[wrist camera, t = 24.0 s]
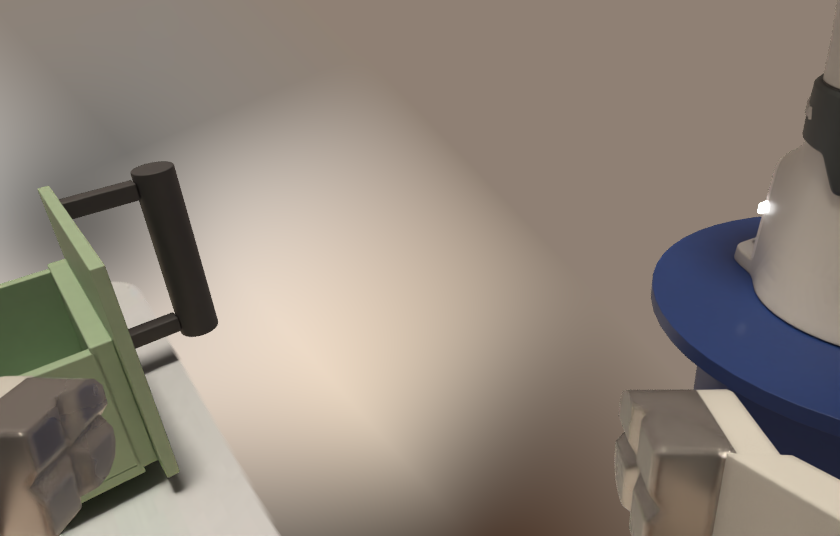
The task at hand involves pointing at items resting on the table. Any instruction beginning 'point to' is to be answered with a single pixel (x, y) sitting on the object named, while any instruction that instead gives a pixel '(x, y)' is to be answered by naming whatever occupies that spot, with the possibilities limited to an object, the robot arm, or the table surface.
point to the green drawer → (108, 314)
